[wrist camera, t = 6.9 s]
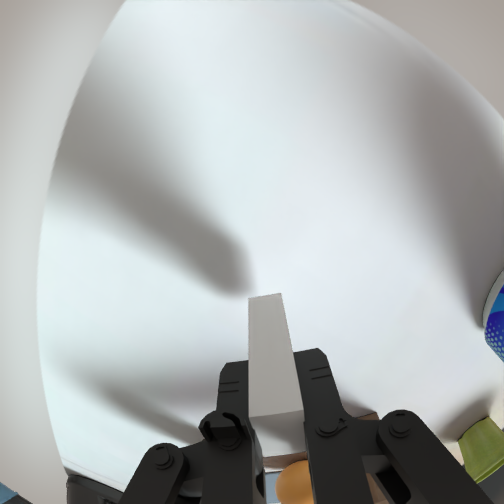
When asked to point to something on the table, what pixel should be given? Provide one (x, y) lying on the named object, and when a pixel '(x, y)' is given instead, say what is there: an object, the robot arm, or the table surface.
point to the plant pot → (482, 449)
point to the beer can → (495, 317)
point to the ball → (294, 484)
